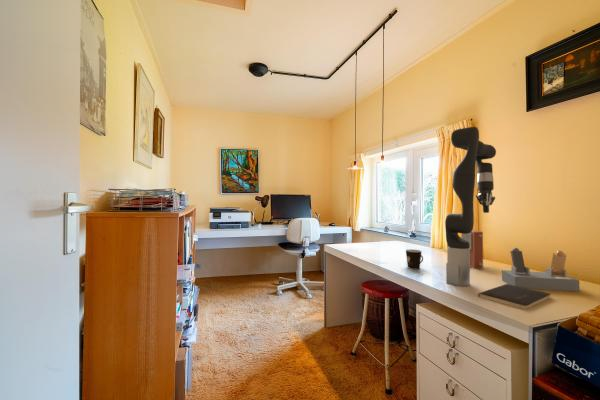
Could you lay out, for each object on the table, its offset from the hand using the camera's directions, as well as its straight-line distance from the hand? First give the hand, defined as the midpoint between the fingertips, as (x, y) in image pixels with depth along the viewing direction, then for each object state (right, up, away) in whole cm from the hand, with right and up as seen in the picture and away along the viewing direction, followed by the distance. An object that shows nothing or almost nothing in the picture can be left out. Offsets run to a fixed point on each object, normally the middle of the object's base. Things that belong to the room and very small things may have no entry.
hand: (486, 212), depth 150 cm
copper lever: (+14, -28, -25) cm, 40 cm away
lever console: (+8, -33, -24) cm, 41 cm away
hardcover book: (-15, -34, -39) cm, 53 cm away
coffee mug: (-36, -33, +9) cm, 50 cm away
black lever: (+1, -28, -22) cm, 35 cm away
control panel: (+1, -33, +14) cm, 36 cm away
